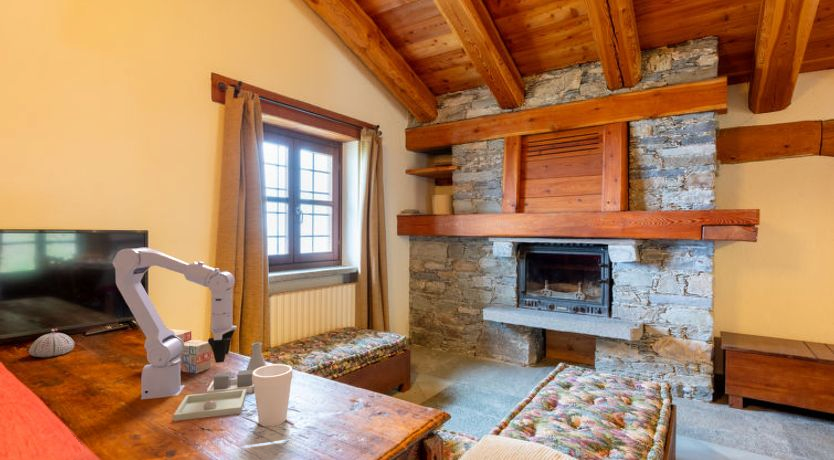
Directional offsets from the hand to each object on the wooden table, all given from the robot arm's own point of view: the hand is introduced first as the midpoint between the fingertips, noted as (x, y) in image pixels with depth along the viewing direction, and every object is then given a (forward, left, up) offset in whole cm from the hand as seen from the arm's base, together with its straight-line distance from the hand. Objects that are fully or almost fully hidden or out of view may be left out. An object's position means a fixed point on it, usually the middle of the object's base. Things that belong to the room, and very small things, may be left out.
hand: (222, 358), depth 122 cm
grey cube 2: (0, 0, -9) cm, 9 cm away
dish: (+3, 0, -10) cm, 10 cm away
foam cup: (+15, -25, -10) cm, 31 cm away
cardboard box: (-18, +27, -10) cm, 34 cm away
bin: (-1, -12, -10) cm, 16 cm away
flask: (+8, +13, -10) cm, 19 cm away
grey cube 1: (+6, 0, -9) cm, 11 cm away
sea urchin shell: (-70, +59, -10) cm, 92 cm away
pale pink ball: (-1, -16, -9) cm, 18 cm away
